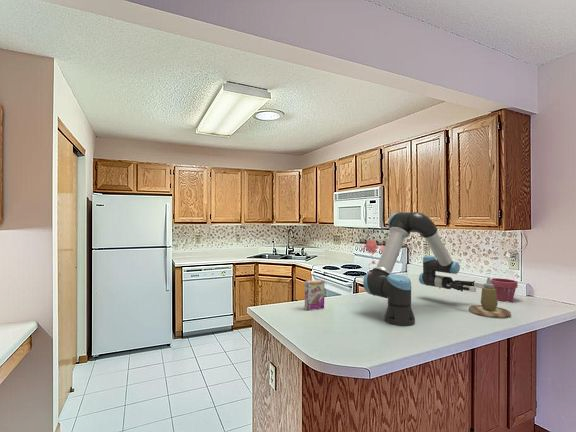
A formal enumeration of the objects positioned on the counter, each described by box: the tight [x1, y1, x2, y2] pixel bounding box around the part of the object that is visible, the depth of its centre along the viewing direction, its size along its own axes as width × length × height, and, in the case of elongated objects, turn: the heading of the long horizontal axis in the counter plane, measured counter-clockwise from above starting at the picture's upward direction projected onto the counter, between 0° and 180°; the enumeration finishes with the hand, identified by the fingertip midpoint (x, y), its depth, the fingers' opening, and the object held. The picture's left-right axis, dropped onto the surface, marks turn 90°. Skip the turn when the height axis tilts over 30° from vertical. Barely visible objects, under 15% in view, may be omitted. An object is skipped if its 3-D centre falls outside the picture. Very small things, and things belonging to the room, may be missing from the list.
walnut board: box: [468, 304, 512, 319], centre depth 178 cm, size 20×20×2 cm
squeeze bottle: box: [480, 277, 499, 311], centre depth 178 cm, size 8×8×18 cm
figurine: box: [360, 238, 385, 274], centre depth 274 cm, size 15×26×35 cm, turn 41°
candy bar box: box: [304, 279, 325, 311], centre depth 188 cm, size 11×5×16 cm, turn 110°
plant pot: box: [490, 277, 519, 302], centre depth 204 cm, size 14×14×13 cm
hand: (481, 288), depth 181 cm, fingers open, 13 cm apart
